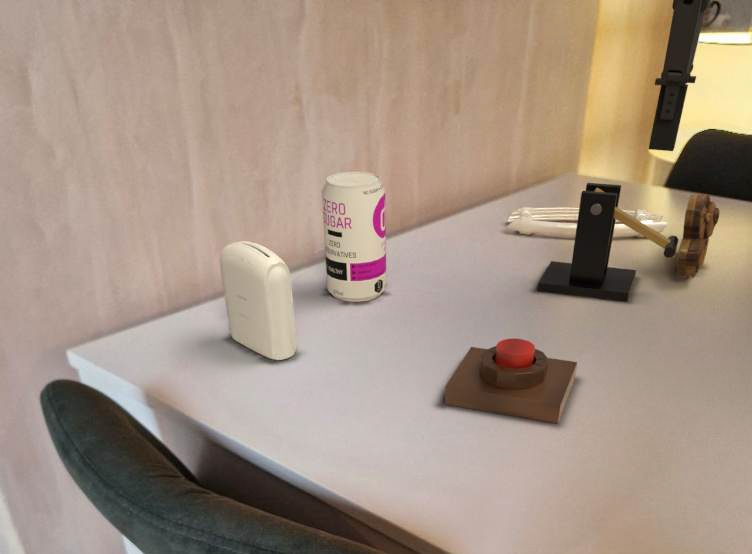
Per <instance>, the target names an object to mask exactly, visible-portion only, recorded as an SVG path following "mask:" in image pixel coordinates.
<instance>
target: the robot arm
mask: <svg viewBox="0 0 752 554" xmlns="http://www.w3.org/2000/svg"><path fill="white" fill-rule="evenodd" d="M711 2H712V0H672V5H671V7H672V10H673V13H672V17H671V23H670V28H669V29H670V30H669V34H668V39H667V40H668V41H667V47H666V52H665V58H664V63H663V67H662V71H661V73H660V77H656V78H655V80H654V86H660V88H659V93H658V99H657V103H656V109H655V113H654V119H653V123H652V127H651V133H650V139H649V143H648V150H652V151H663V152H665V151H666V152H674V149H675V147H676V141H677V136H678V133H679V128H680V124H681V120H682V115H683V110H684V106H685V101H686V96H687V92H688V88H689V84H695V83H696V80H697V75H691V73H692V72H693V69H694V61H695V57H696V52H697V47H698V43H699V38H700V35H701V32H702V31H701V30H702V26H703V22H704V17H705V14H706V10H707V9H708V8H709V6H710V4H711Z"/></svg>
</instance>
